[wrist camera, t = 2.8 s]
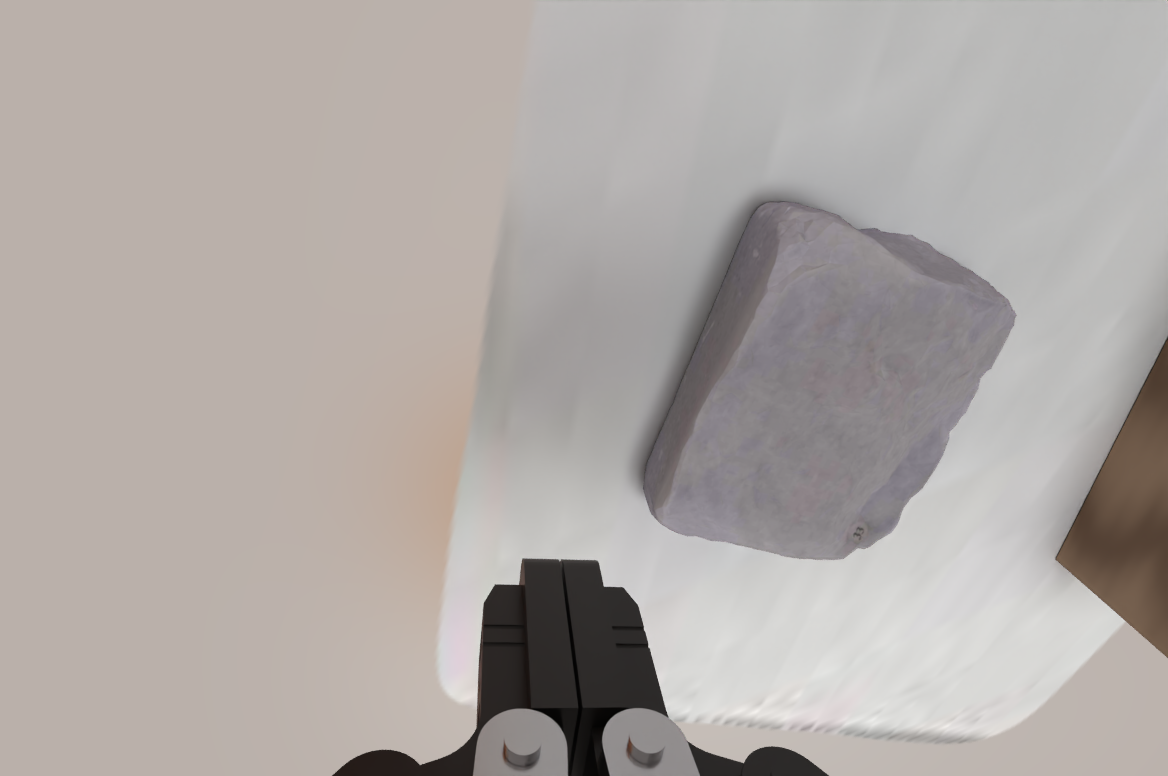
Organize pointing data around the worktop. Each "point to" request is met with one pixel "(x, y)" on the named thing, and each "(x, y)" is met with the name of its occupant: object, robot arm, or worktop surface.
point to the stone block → (821, 386)
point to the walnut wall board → (1130, 518)
